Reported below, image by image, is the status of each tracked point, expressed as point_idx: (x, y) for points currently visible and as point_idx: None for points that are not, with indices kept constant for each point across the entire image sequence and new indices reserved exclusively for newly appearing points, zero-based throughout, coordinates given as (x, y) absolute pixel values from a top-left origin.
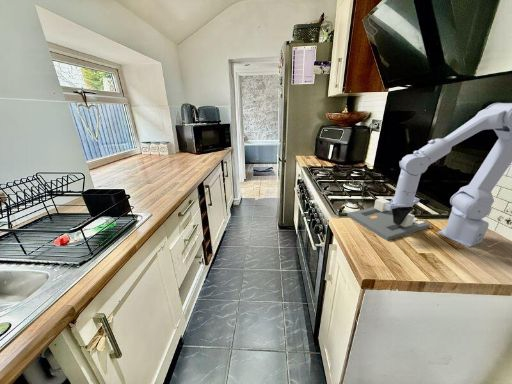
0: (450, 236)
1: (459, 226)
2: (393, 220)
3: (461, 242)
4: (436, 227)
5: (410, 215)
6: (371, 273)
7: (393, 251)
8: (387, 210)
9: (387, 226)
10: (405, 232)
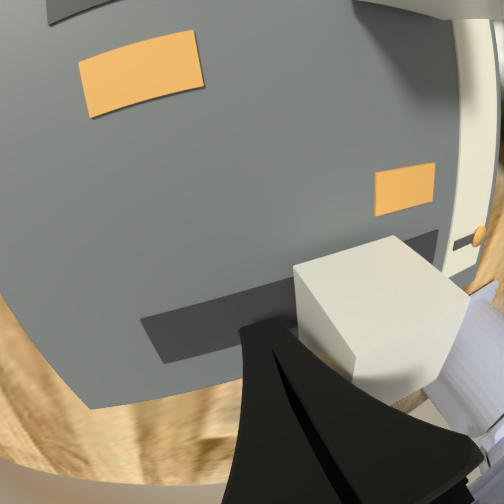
0: None
1: (463, 401)
2: (242, 347)
3: None
4: None
5: (416, 383)
6: (3, 455)
7: (93, 430)
8: (430, 15)
9: (166, 307)
10: None
